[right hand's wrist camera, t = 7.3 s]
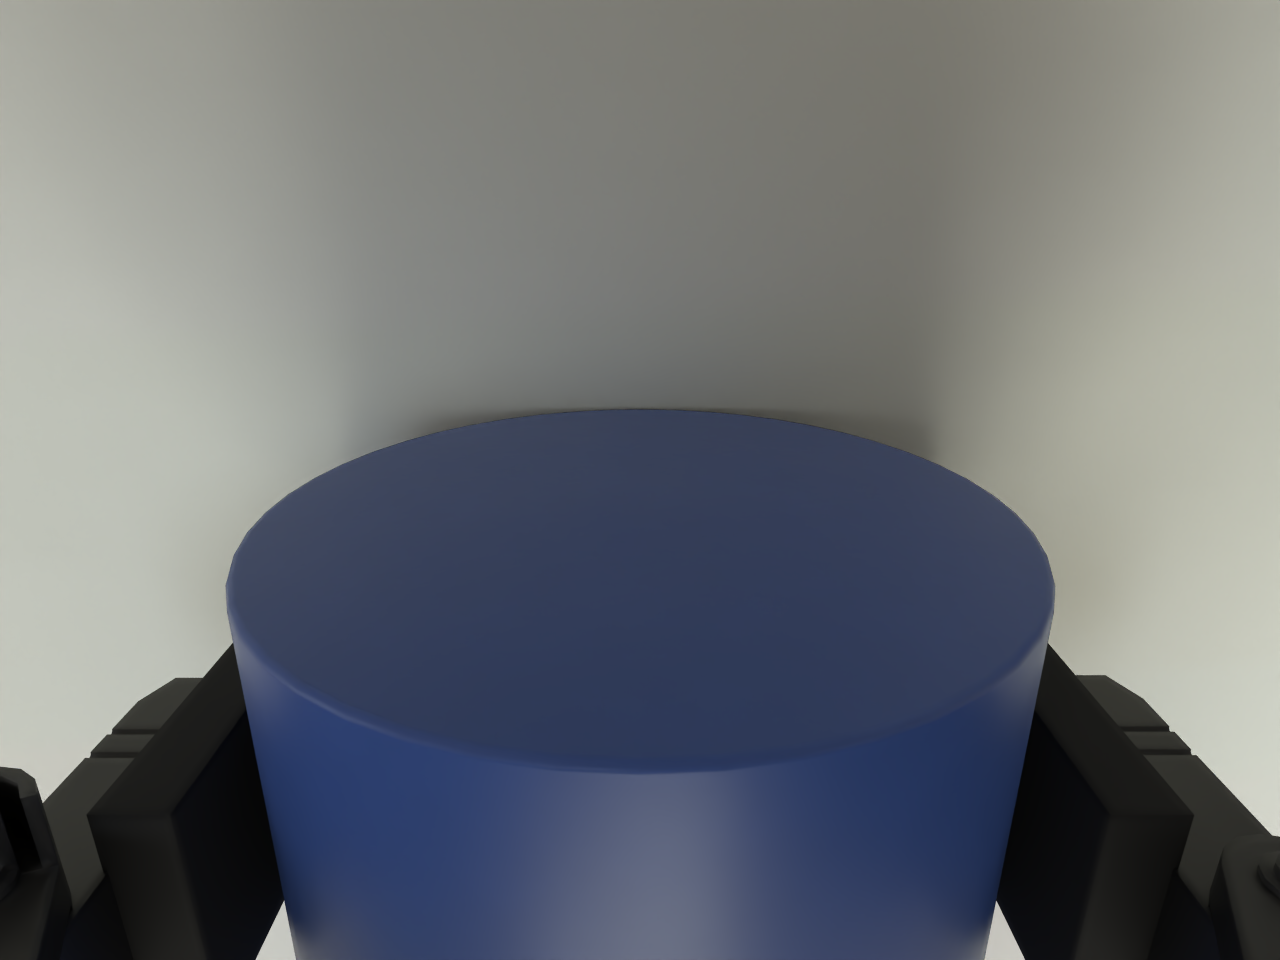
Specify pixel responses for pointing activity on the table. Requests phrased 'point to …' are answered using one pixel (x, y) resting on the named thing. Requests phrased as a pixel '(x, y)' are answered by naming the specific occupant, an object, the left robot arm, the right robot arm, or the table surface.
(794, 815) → the rod
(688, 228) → the table surface
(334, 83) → the table surface
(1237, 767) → the table surface
